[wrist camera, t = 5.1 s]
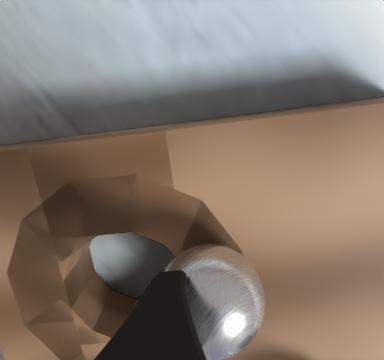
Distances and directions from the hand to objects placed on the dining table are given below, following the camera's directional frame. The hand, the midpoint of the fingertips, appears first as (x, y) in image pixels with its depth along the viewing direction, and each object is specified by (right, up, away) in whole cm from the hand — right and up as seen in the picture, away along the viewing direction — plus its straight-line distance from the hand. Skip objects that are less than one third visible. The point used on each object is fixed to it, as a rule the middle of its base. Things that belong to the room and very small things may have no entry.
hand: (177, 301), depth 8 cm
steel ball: (+1, 0, +1) cm, 1 cm away
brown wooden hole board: (+1, -1, +5) cm, 5 cm away
